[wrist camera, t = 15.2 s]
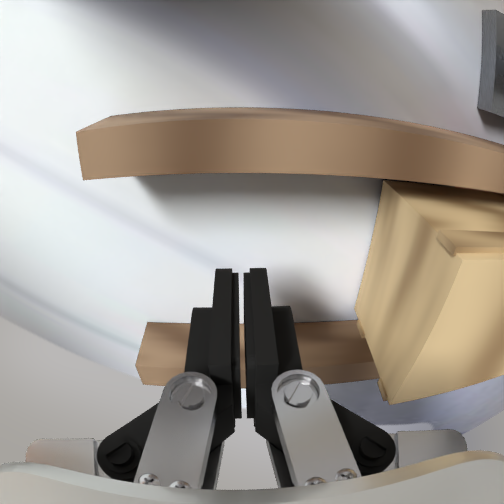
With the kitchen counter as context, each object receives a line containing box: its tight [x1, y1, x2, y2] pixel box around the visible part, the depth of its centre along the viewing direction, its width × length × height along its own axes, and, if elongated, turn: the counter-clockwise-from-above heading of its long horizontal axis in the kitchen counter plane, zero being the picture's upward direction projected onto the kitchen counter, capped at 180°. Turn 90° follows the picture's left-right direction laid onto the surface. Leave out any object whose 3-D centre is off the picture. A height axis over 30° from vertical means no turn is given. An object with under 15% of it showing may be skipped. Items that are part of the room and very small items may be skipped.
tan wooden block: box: [354, 180, 504, 405], centre depth 12 cm, size 9×7×6 cm
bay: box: [76, 108, 504, 388], centre depth 13 cm, size 22×12×4 cm, turn 89°
